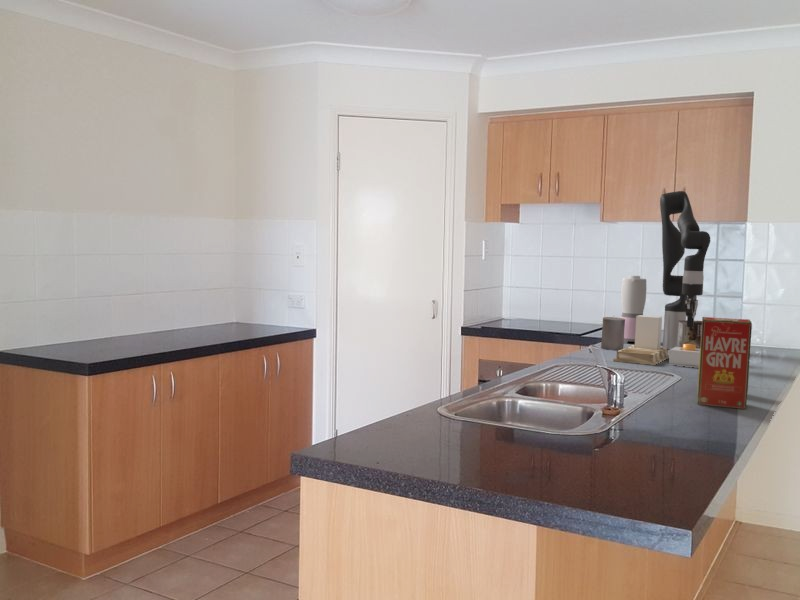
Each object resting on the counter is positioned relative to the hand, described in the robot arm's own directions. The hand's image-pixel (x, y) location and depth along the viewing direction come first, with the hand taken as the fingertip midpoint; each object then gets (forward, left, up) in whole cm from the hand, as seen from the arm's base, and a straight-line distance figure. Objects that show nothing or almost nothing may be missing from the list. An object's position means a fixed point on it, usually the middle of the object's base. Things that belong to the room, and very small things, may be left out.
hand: (690, 327), depth 294 cm
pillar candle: (-26, -37, -15) cm, 48 cm away
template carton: (-10, -18, -15) cm, 25 cm away
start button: (0, 0, -12) cm, 12 cm away
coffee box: (-14, -2, -15) cm, 21 cm away
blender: (-57, -37, -15) cm, 70 cm away
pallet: (-2, -18, -15) cm, 23 cm away
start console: (0, 0, -15) cm, 15 cm away
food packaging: (+74, +23, -15) cm, 79 cm away
